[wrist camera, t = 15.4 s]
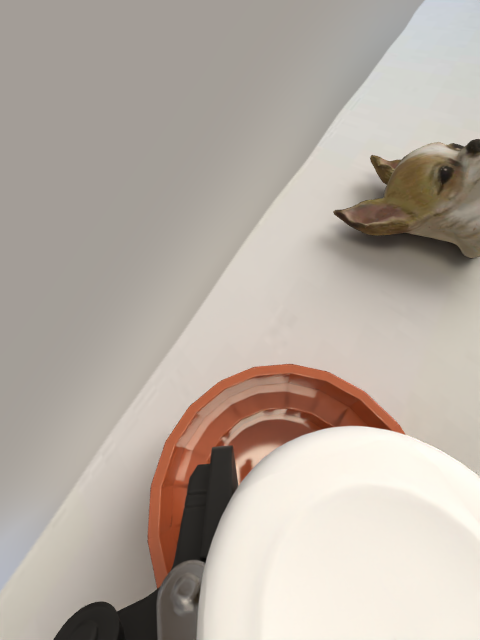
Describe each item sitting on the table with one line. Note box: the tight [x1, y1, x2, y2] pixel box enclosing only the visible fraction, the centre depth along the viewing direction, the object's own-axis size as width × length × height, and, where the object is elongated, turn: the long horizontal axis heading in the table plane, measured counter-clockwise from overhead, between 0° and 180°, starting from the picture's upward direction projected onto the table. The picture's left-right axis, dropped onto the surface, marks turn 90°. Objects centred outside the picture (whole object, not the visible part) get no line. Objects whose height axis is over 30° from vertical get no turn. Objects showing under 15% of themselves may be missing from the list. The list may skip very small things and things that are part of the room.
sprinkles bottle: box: [197, 426, 480, 640], centre depth 9 cm, size 5×5×13 cm
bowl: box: [148, 364, 405, 589], centre depth 17 cm, size 14×14×6 cm
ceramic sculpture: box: [333, 139, 480, 258], centre depth 25 cm, size 11×9×15 cm
